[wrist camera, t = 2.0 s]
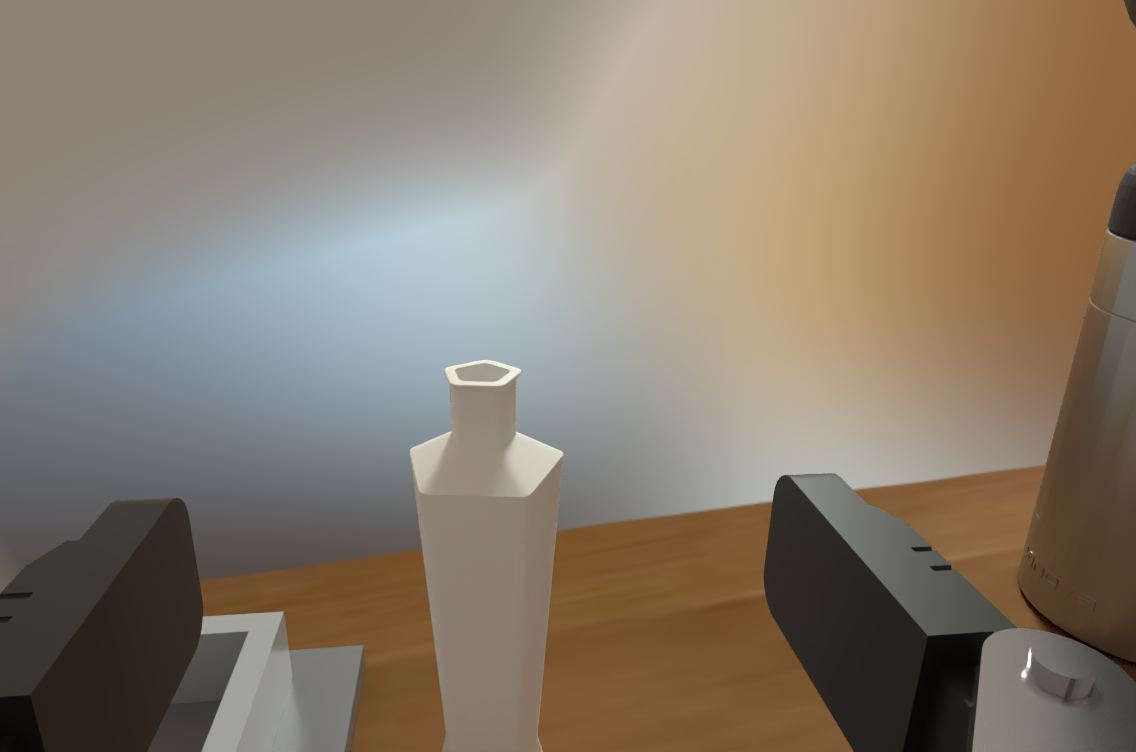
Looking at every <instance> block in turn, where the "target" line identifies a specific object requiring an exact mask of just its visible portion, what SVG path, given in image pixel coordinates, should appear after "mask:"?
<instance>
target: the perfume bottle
mask: <svg viewBox="0 0 1136 752" xmlns="http://www.w3.org/2000/svg"><path fill="white" fill-rule="evenodd" d="M444 371H445V374H446V377H447V379H448V382H449V384H450V403H451V428H452V431H451V432H448V433H446V434H444V435H441V436H439V437H436V438H434V439H432V440H429V441H427V442H425V443H423V444H420V445H418V446H416V447H413V448H412V449H411V450H410V456H411V464H412V472H413V480H414V487H415V495H416V503H417V510H418V518H419V526H420V534H421V542H422V550H423V557H424V565H425V573H426V581H427V588H428V596H429V604H430V612H431V619H432V627H433V635H434V643H435V650H436V658H437V666H438V674H439V681H440V689H441V697H442V705H443V712H444V720H445V728H446V737H445V741H444V744H443V748H442V752H543V751H542V748H541V745H540V742H539V739H538V736H537V733H538V722H539V712H540V701H541V690H542V679H543V668H544V657H545V647H546V636H547V625H548V614H549V603H550V592H551V582H552V571H553V560H554V549H555V538H556V527H557V516H558V506H559V505H558V504H559V494H560V483H561V473H562V462H563V453H562V451H559V450H557V449H555V448H553V447H550V446H548V445H546V444H543V443H541V442H539V441H537V440H534V439H532V438H530V437H527V436H525V435H523V434H520V433H518V432H516V379H517V377H518V376H519V375H520V373H521V370H520V369H518V368H516V367H512V366H509V365H505V364H502V363H498V362H495V361H491V360H481V361H476V362H470V363H465V364H460V365H455V366H450V367H447V368H445V370H444Z"/></svg>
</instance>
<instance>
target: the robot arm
mask: <svg viewBox="0 0 1136 752" xmlns="http://www.w3.org/2000/svg"><path fill="white" fill-rule="evenodd" d="M1124 2H1125V5H1126V8H1127V11H1128V14H1129V17H1130V19H1131V20H1132V22H1133V24H1134V25H1135V27H1136V0H1124ZM1108 227H1109V229H1108V230H1107V231H1106V235H1105V238H1104V242H1103V246H1102V250H1101V254H1100V257H1099V261H1098V265H1097V269H1096V273H1095V277H1094V281H1093V284H1092V288H1091V292H1090V296H1089V297H1090V299H1089V301H1088V305H1087V309H1086V312H1085V316H1084V320H1083V324H1082V328H1081V332H1080V335H1079V339H1078V343H1077V347H1076V351H1075V355H1074V358H1073V362H1072V366H1071V370H1070V374H1069V378H1068V381H1067V385H1066V389H1065V393H1064V397H1063V401H1062V404H1061V408H1060V412H1059V416H1058V420H1057V424H1056V427H1055V431H1054V435H1053V439H1052V443H1051V447H1050V451H1049V454H1048V458H1047V462H1046V466H1045V470H1044V473H1043V477H1042V481H1041V485H1040V489H1039V493H1038V496H1037V500H1036V504H1035V508H1034V512H1033V516H1032V520H1031V523H1030V527H1029V531H1028V535H1027V539H1026V543H1025V547H1024V551H1023V555H1022V559H1021V563H1020V567H1019V571H1018V575H1017V577H1018V581H1019V586H1020V588H1021V590H1022V591H1023V593H1024V595H1025V596H1026V598H1027V599H1028V600H1029V602H1030V603H1031V604H1032V605H1033V606H1034V607H1035V608H1036V609H1037V610H1038V611H1039V612H1040V613H1041V614H1043V615H1044V616H1045V617H1046V618H1048V619H1049V620H1050V621H1051V622H1053V623H1054V624H1055V625H1057V626H1058V627H1060V628H1062V629H1063V630H1065V631H1066V632H1068V633H1070V634H1071V635H1073V636H1075V637H1076V638H1078V639H1080V640H1082V641H1084V642H1086V643H1088V644H1090V645H1092V646H1094V647H1096V648H1098V649H1100V650H1103V651H1105V652H1108V653H1110V654H1113V655H1116V656H1118V657H1121V658H1123V659H1126V660H1129V661H1132V662H1135V663H1136V164H1134V165H1133V166H1131V167H1130V168H1129V169H1128V170H1127V172H1126V173H1125V175H1124V177H1123V178H1122V180H1121V182H1120V185H1119V187H1118V190H1117V193H1116V196H1115V201H1114V204H1113V208H1112V212H1111V216H1110V220H1109V223H1108ZM189 521H190V520H189V515H188V511H187V508H186V506H185V504H184V502H183V501H182V500H181V499H179V498H162V499H137V500H117V501H114V502H113V503H111V504H110V505H109V506H108V507H107V509H106V510H105V511H104V512H103V513H102V514H101V516H100V517H99V518H98V519H97V520H96V521H95V522H94V524H93V525H92V526H91V527H90V528H89V529H88V531H87V532H86V533H85V534H84V535H83V536H82V537H81V538H80V540H79V541H66V542H64V543H63V544H61V545H60V546H58V547H56V548H55V549H53V550H51V551H50V552H48V553H46V554H45V555H43V556H42V557H40V558H38V559H37V560H35V561H33V562H32V563H30V564H28V565H27V566H26V567H25V568H24V569H23V570H22V571H21V572H20V573H19V574H18V575H17V576H16V577H15V579H14V580H13V581H12V582H11V583H10V584H9V585H8V586H7V587H6V588H5V589H4V590H3V591H2V592H1V593H0V752H147V751H148V749H149V747H150V745H151V743H152V741H153V739H154V737H155V735H156V732H157V730H158V728H159V726H160V724H161V722H162V720H163V718H164V716H165V714H166V712H167V710H168V708H169V706H170V704H171V701H172V699H173V697H174V695H175V693H176V691H177V689H178V687H179V685H180V683H181V681H182V679H183V677H184V675H185V672H186V670H187V668H188V666H189V664H190V662H191V660H192V658H193V656H194V654H195V652H196V649H197V647H198V643H199V640H200V635H201V630H202V621H203V602H202V595H201V589H200V582H199V576H198V570H197V564H196V558H195V551H194V545H193V540H192V533H191V527H190V522H189ZM931 547H932V546H931V545H930V544H928V543H927V542H926V541H925V540H924V539H923V538H922V537H921V536H920V535H919V534H918V533H917V532H916V531H915V530H914V529H913V528H912V527H911V526H910V525H909V524H907V523H905V522H903V521H901V520H900V519H898V518H896V517H894V516H892V515H890V514H889V513H887V512H885V511H883V510H881V509H879V508H877V507H876V506H869V505H868V504H867V503H866V502H865V501H864V500H863V499H862V498H861V497H860V496H859V495H858V494H857V493H856V492H855V491H854V490H853V489H852V488H851V487H850V486H848V485H847V484H846V482H845V481H844V480H842V478H840V477H839V476H838V475H836V474H806V475H784V476H781V478H779V480H778V481H777V484H776V487H775V491H774V496H773V504H772V512H771V520H770V528H769V536H768V544H767V551H766V559H765V567H764V587H765V594H766V599H767V603H768V606H769V609H770V611H771V614H772V616H773V618H774V619H775V621H776V623H777V624H778V626H779V628H780V629H781V631H782V633H783V634H784V636H785V638H786V639H787V641H788V643H789V644H790V646H791V648H792V649H793V651H794V653H795V654H796V656H797V658H798V659H799V661H800V663H801V664H802V666H803V668H804V669H805V671H806V673H807V674H808V676H809V678H810V679H811V681H812V683H813V684H814V686H815V688H816V689H817V691H818V692H819V694H820V696H821V697H822V699H823V701H824V702H825V704H826V706H827V707H828V709H829V711H830V712H831V714H832V716H833V717H834V719H835V721H836V722H837V724H838V726H839V727H840V729H841V731H842V732H843V734H844V736H845V737H846V739H847V741H848V742H849V744H850V746H851V747H852V749H853V751H854V752H1136V683H1135V682H1134V680H1133V679H1132V678H1131V677H1130V676H1129V675H1128V674H1127V673H1126V672H1125V671H1124V670H1123V669H1122V668H1121V667H1120V666H1119V665H1117V664H1116V663H1114V662H1113V661H1112V660H1110V659H1109V658H1108V657H1106V656H1104V655H1103V654H1101V653H1099V652H1098V651H1096V650H1094V649H1092V648H1090V647H1088V646H1086V645H1084V644H1082V643H1079V642H1077V641H1075V640H1072V639H1070V638H1067V637H1064V636H1061V635H1058V634H1054V633H1050V632H1046V631H1041V630H1035V629H1023V628H1017V627H1016V626H1015V625H1014V624H1013V623H1011V622H1010V621H1009V620H1008V619H1007V618H1006V617H1005V616H1004V615H1003V614H1002V613H1001V612H1000V611H999V610H998V609H997V608H996V607H995V606H994V605H993V604H992V603H990V602H989V601H988V600H987V599H986V598H985V597H984V596H983V595H982V594H981V593H980V592H979V591H978V590H977V589H976V588H975V587H974V586H973V585H972V584H970V583H969V582H968V581H967V580H966V579H965V578H964V577H963V576H962V575H961V574H960V573H959V572H958V571H957V570H952V569H951V564H949V563H948V562H947V561H946V560H945V559H944V558H943V557H942V556H941V555H940V554H939V553H938V552H937V551H932V549H931Z"/></svg>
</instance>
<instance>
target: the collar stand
mask: <svg viewBox="0 0 1136 752" xmlns="http://www.w3.org/2000/svg"><path fill="white" fill-rule="evenodd" d="M364 669H365V658H364V647H363V645H361V646H347V647H333V648H318V649H304V650H290V651H289V647H288V640H287V632H286V625H285V617H284V612H271V613H255V614H240V615H224V616H208V617H203V621H202V630H201V635H200V640H199V643H198V647H197V649H196V652H195V654H194V656H193V658H192V660H191V662H190V664H189V666H188V668H187V670H186V672H185V675H184V677H183V679H182V681H181V683H180V685H179V687H178V689H177V691H176V693H175V695H174V697H173V699H172V701H171V704H170V706H169V708H168V710H167V712H166V714H165V716H164V718H163V720H162V722H161V724H160V726H159V728H158V730H157V732H156V735H155V737H154V739H153V741H152V743H151V745H150V747H149V749H148V751H147V752H351V746H352V740H353V734H354V728H355V723H356V717H357V711H358V705H359V699H360V693H361V687H362V681H363V675H364Z"/></svg>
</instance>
